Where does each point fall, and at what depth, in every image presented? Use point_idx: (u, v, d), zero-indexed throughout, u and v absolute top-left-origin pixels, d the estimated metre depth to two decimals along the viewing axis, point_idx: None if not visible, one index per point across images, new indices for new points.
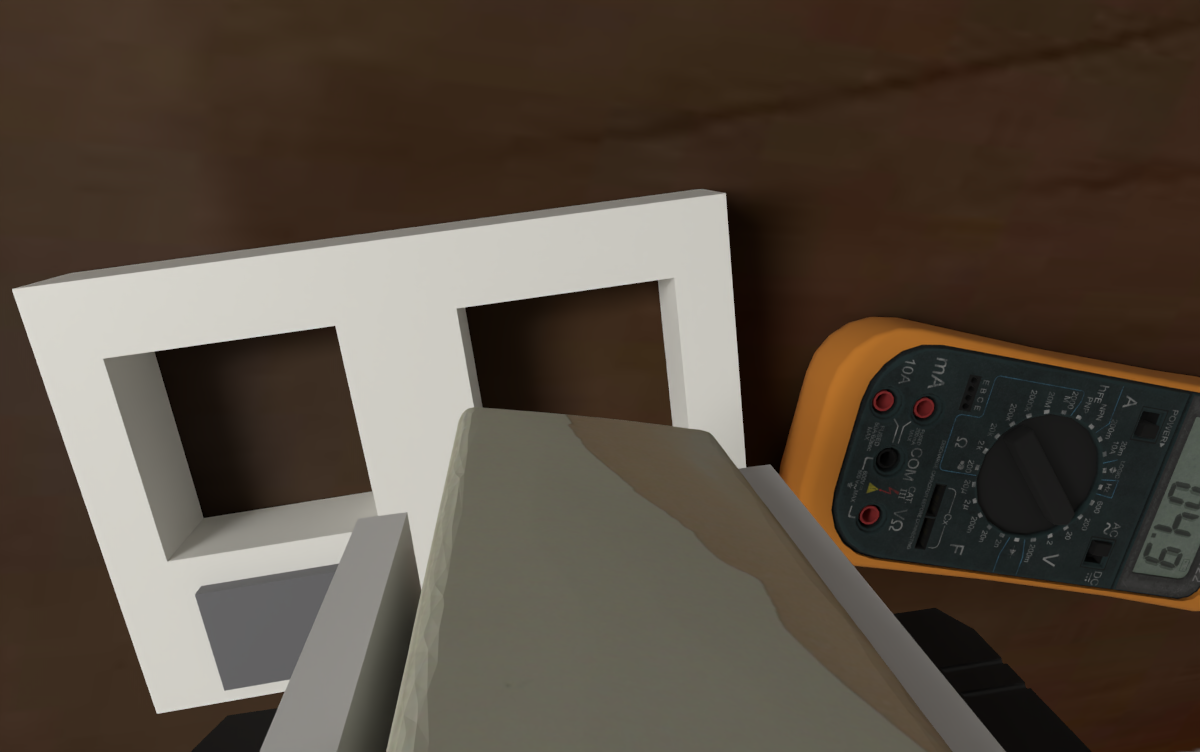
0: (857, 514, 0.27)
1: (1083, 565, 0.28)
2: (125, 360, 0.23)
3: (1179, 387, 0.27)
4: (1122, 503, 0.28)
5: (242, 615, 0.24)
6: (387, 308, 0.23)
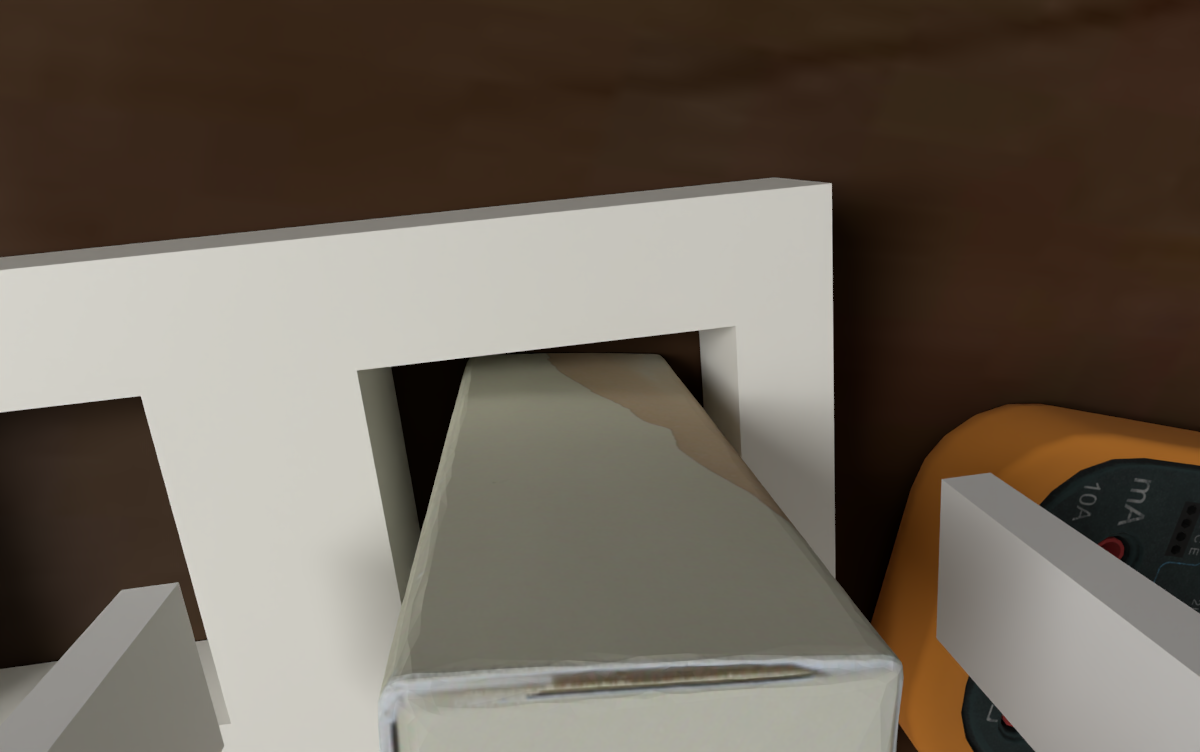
0: (1000, 715, 0.17)
1: None
2: None
3: None
4: None
5: None
6: (233, 368, 0.13)
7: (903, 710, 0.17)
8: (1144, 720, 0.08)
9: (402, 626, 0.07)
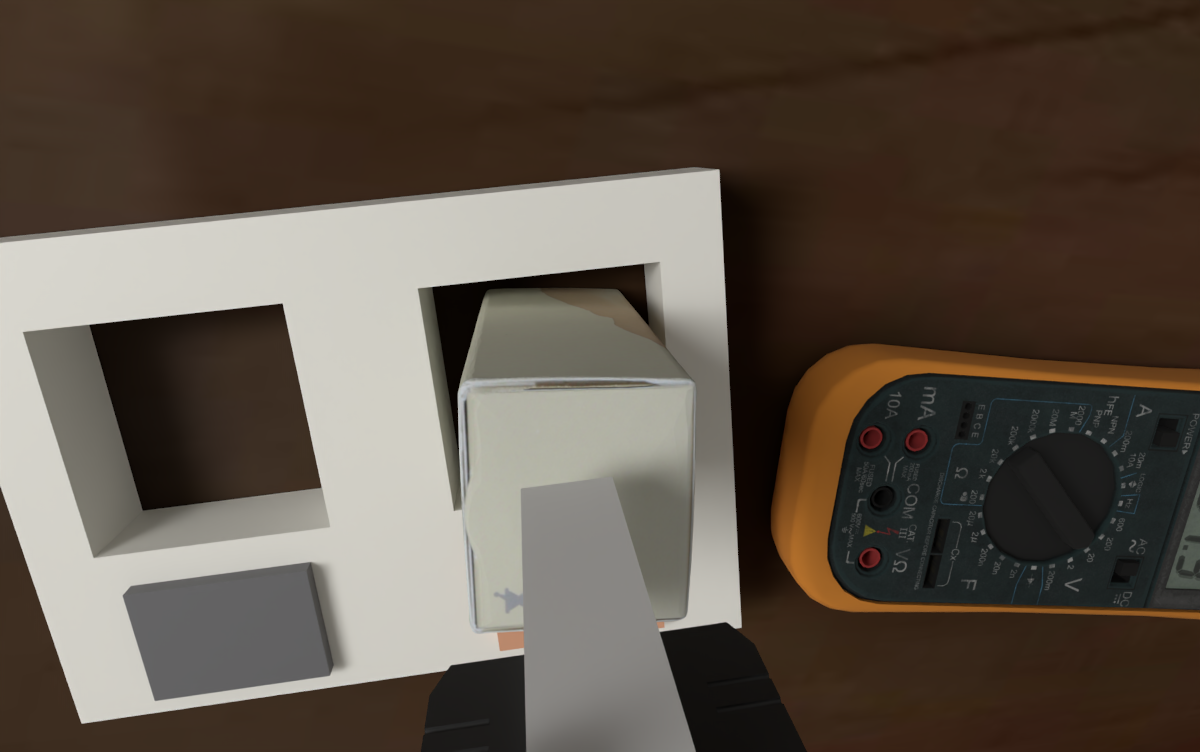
0: (856, 559, 0.25)
1: (1110, 586, 0.26)
2: (51, 335, 0.21)
3: (1197, 389, 0.24)
4: (1147, 518, 0.25)
5: (175, 619, 0.22)
6: (341, 285, 0.20)
7: (788, 559, 0.25)
8: None
9: (465, 372, 0.14)
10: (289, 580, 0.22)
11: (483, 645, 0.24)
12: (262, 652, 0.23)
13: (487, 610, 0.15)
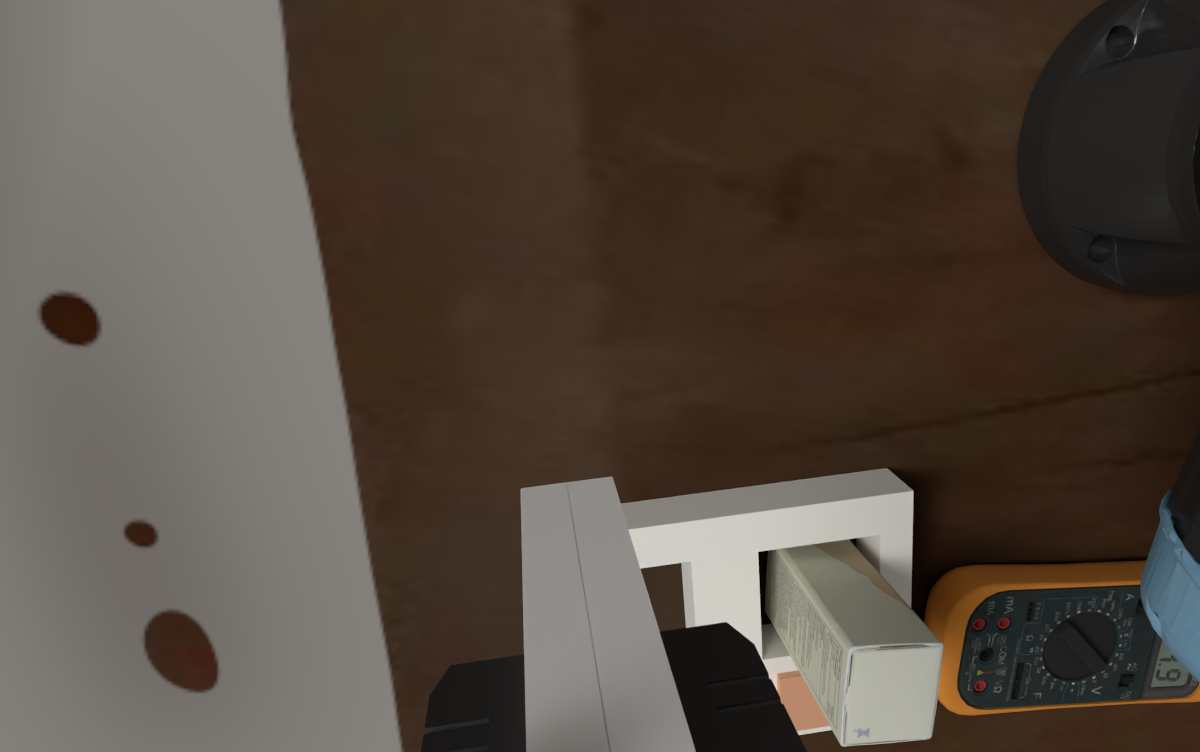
0: (973, 687, 0.44)
1: (1118, 689, 0.46)
2: None
3: None
4: (1136, 651, 0.45)
5: None
6: (720, 552, 0.40)
7: None
8: None
9: (843, 637, 0.34)
10: None
11: None
12: None
13: (849, 736, 0.34)
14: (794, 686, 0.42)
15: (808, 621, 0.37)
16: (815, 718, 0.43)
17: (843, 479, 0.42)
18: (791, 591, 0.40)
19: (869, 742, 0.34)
